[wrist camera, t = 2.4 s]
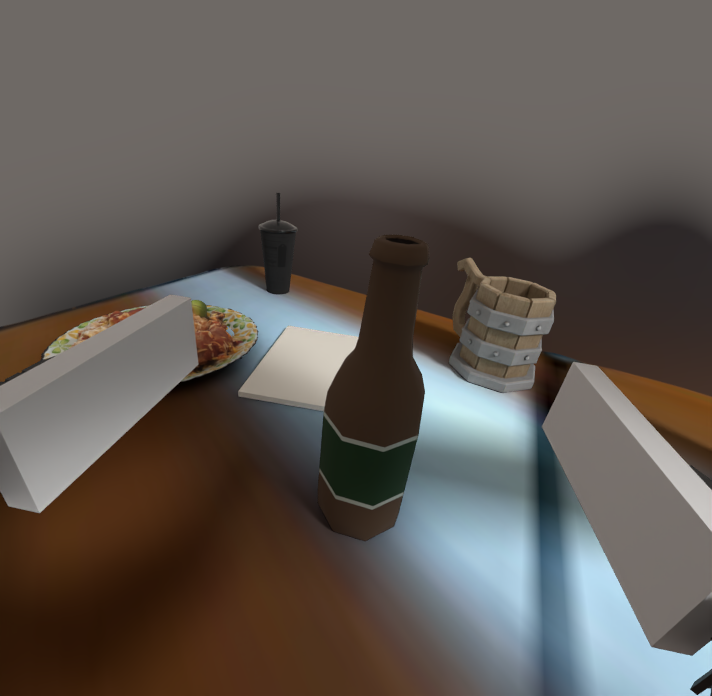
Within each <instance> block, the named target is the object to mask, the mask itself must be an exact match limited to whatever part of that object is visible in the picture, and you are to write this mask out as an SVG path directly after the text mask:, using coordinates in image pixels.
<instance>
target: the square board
mask: <svg viewBox="0 0 712 696" xmlns="http://www.w3.org/2000/svg"><path fill="white" fill-rule="evenodd" d="M358 338H359V337H355V336H349V335H343V334H337V333H330V332H324V331H318V330H312V329H305V328H299V327H293V326H287V328H286V329H285V330H284V332H283V333H282V334H281V336H280V337H279V338H278V340H277V341H276V342H275V344H274V345H273V346H272V348H271V349H270V350H269V351H268V353H267V354H266V355H265V357H264V358H263V359H262V361H261V362H260V363H259V365H258V366H257V367H256V369H255V370H254V371H253V373H252V374H251V375H250V377H249V378H248V379H247V380H246V382H245V383H244V384H243V386H242V387H241V388H240V390H239V391H238V394H239V397H245V398H250V399H256V400H262V401H267V402H273V403H279V404H284V405H290V406H295V407H301V408H307V409H312V410H318V411H324V407H325V402H326V396H327V391H328V389H329V387H330V385H331V383H332V381H333V379H334V377H335V376H336V374H337V372H338V370H339V369H340V367H341V365H342V363H343V362H344V360H345V358H346V357H347V356H348V355H349V354H350V353H351V352H352V351H353V350H354V349H355V347H356V344H357V341H358Z"/></svg>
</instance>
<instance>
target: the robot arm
mask: <svg viewBox="0 0 712 696" xmlns="http://www.w3.org/2000/svg"><path fill="white" fill-rule="evenodd" d="M197 365H198V356H197V347H196V338H195V330H194V321H193V312H192V303H191V298H188V297H182V296H176V295H169V296H167V297H165V298H163V299H161V300H159V301H157V302H156V303H154V304H152V305H150V306H148V307H146V308H144V309H143V310H141V311H139V312H137V313H135V314H133V315H131V316H130V317H128V318H126V319H124V320H122V321H120V322H118V323H117V324H115V325H113V326H111V327H109V328H107V329H105V330H103V331H102V332H100V333H98V334H96V335H94V336H92V337H90V338H89V339H87V340H85V341H83V342H81V343H79V344H77V345H76V346H74V347H72V348H70V349H68V350H66V351H64V352H62V353H61V354H59V355H56V356H53V357H50V358H47V359H44V360H41V361H39V362H37V363H35V364H34V365H32V366H30V367H28V368H26V369H24V370H22V373H17V374H15V375H13V376H11V377H9V378H7V379H5V382H0V492H1V493H2V495H3V497H4V499H5V501H6V503H7V505H8V506H10V507H14V508H19V509H23V510H28V511H33V512H37V513H40V512H41V511H42V510H43V509H45V508H46V507H47V506H48V505H49V504H50V503H51V502H52V501H53V500H54V499H55V498H56V497H57V496H58V495H60V494H61V493H62V492H63V491H64V490H65V489H66V488H67V487H68V486H69V485H70V484H71V483H72V482H73V481H74V480H76V479H77V478H78V477H79V476H80V475H81V474H82V473H83V472H84V471H85V470H86V469H87V468H88V467H89V466H91V465H92V464H93V463H94V462H95V461H96V460H97V459H98V458H99V457H100V456H101V455H102V454H103V453H104V452H106V451H107V450H108V449H109V448H110V447H111V446H112V445H113V444H114V443H115V442H116V441H117V440H118V439H119V438H120V437H122V436H123V435H124V434H125V433H126V432H127V431H128V430H129V429H130V428H131V427H132V426H133V425H134V424H135V423H137V422H138V421H139V420H140V419H141V418H142V417H143V416H144V415H145V414H146V413H147V412H148V411H149V410H150V409H151V408H153V407H154V406H155V405H156V404H157V403H158V402H159V401H160V400H161V399H162V398H163V397H164V396H165V395H166V394H168V393H169V392H170V391H171V390H172V389H173V388H174V387H175V386H176V385H177V384H178V383H179V382H180V381H181V380H183V379H184V378H185V377H186V376H187V375H188V374H189V373H190V372H191V371H192V370H193V369H194V368H195V367H196V366H197ZM542 428H543V430H544V432H545V434H546V436H547V438H548V440H549V442H550V444H551V446H552V448H553V450H554V452H555V454H556V456H557V458H558V460H559V462H560V464H561V466H562V468H563V470H564V472H565V474H566V476H567V478H568V480H569V482H570V484H571V486H572V488H573V490H574V492H575V494H576V496H577V498H578V500H579V502H580V504H581V506H582V508H583V510H584V512H585V514H586V516H587V518H588V520H589V522H590V524H591V526H592V528H593V530H594V532H595V534H596V536H597V538H598V540H599V543H600V545H601V547H602V549H603V551H604V553H605V555H606V557H607V559H608V561H609V563H610V565H611V567H612V569H613V571H614V573H615V575H616V577H617V579H618V581H619V583H620V585H621V587H622V589H623V591H624V593H625V595H626V597H627V599H628V601H629V603H630V605H631V607H632V609H633V611H634V613H635V615H636V617H637V619H638V621H639V623H640V625H641V627H642V629H643V631H644V633H645V635H646V637H647V639H648V641H649V643H650V645H651V647H654V648H659V649H663V650H668V651H673V652H677V653H682V654H686V655H691V656H692V655H693V654H695V653H696V652H697V651H698V650H700V649H701V648H702V647H703V646H705V645H706V644H707V643H708V642H710V641H711V640H712V480H710V479H709V478H708V477H706V476H705V475H703V474H702V473H701V472H699V471H698V470H697V469H695V468H694V467H693V466H690V465H688V464H687V463H686V462H685V461H684V460H683V459H682V458H681V456H680V455H679V454H678V453H677V452H676V451H675V450H674V449H673V448H672V447H671V446H670V444H669V443H668V442H667V441H666V440H665V439H664V438H663V437H662V436H661V435H660V434H659V433H658V431H657V430H656V429H655V428H654V427H653V426H652V425H651V424H650V423H649V422H648V421H647V419H646V418H645V417H644V416H643V415H642V414H641V413H640V412H639V411H638V410H637V409H636V408H635V406H634V405H633V404H632V403H631V402H630V401H629V400H628V399H627V398H626V397H625V396H624V394H623V393H622V392H621V391H620V390H619V389H618V388H617V387H616V386H615V385H614V384H613V383H612V381H611V380H610V379H609V378H608V377H607V376H606V375H605V374H604V373H603V372H602V371H601V370H600V368H599V367H598V366H594V365H588V364H582V363H576V362H573V363H572V365H571V368H570V370H569V372H568V374H567V376H566V378H565V380H564V382H563V384H562V386H561V388H560V390H559V392H558V395H557V397H556V399H555V401H554V403H553V405H552V407H551V409H550V411H549V413H548V415H547V417H546V420H545V422H544V424H543V426H542ZM707 688H711V695H710V696H712V669H711V670H710V671H709V672H707V673H706V674H705V675H703V676H702V677H700V678H699V679H698V680H696V681H695V682H694V684H693V685H692V687H691V689H690V690H692V691H693V692H694V693H695V694H696V695H698V694H700V693H701V692H703V691H704V690H705V689H707Z"/></svg>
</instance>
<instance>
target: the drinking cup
mask: <svg viewBox="0 0 712 696" xmlns="http://www.w3.org/2000/svg"><path fill="white" fill-rule="evenodd" d="M259 229H260V231H261V240H262V249H263V258H264V267H265V276H266V285H267V291H268V292H270V293H273V294H285V293H288V292H289V288H290V279H291V269H292V261H293V252H294V242H295V234H296V232H297V227H295V226H293V225H291V224H290V223H288V222H285V221H282V220H280V193H277V220H271V221H267V222H265V223H263V224H260V225H259Z"/></svg>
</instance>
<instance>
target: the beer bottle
mask: <svg viewBox="0 0 712 696" xmlns="http://www.w3.org/2000/svg"><path fill="white" fill-rule="evenodd" d="M369 255H370V257H371V258H372V259H373V260H374V261H373V266H372V272H371V276H370V282H369V287H368V292H367V297H366V302H365V308H364V313H363V318H362V323H361V329H360V334H359V338H358V341H357V344H356V347H355V349H354V350H353V351H352V352H351V353H350V354H349V355H348V356H347V357H346V358H345V360H344V362H343V363H342V365H341V367H340V369H339V370H338V372H337V374H336V376H335V377H334V379H333V381H332V383H331V385H330V387H329V389H328V391H327V396H326V402H325V407H324V416H323V429H322V441H321V454H320V467H319V480H318V504H319V506H320V508H321V510H322V512H323V513H324V515H325V517H326V519H327V521H328V523H329V525H330V526H331V528H332V530H333V531H334V532H337V533H340V534H343V535H347V536H350V537H353V538H356V539H359V540H362V541H366V540H368V539H370V538H372V537H374V536H376V535H378V534H380V533H382V532H384V531H386V530H388V529H390V528H392V527H393V526H394V525H395V522H396V519H397V516H398V513H399V509H400V505H401V502H402V498H403V494H404V490H405V486H406V482H407V478H408V474H409V470H410V466H411V462H412V458H413V454H414V450H415V446H416V442H417V438H418V434H419V428H420V421H421V415H422V408H423V401H424V394H425V389H424V383H423V378H422V374H421V372H420V370H419V368H418V366H417V364H416V362H415V360H414V358H413V333H414V326H415V319H416V312H417V304H418V297H419V289H420V283H421V276H422V269H423V267H424V266H426V265H427V264H428V262H429V246H428V244H427V243H425V242H423V241H421V240H419V239H416V238H414V237H408V236H402V235H383V236H379V237H378V238H377V239H376V240H375V241H374V243H373V246H372V248H371V250H370V253H369Z"/></svg>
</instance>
